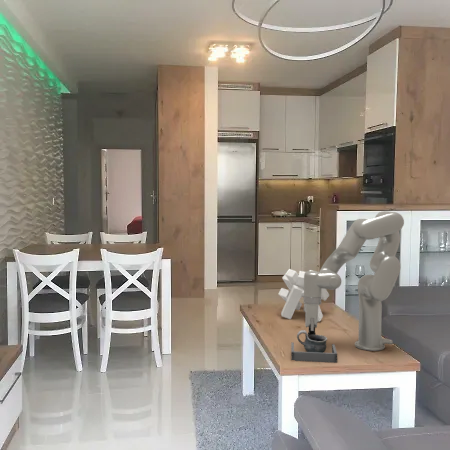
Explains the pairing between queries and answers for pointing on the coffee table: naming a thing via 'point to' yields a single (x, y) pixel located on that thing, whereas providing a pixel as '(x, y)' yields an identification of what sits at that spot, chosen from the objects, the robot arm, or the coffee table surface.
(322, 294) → the white crossed bars sculpture
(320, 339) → the mug
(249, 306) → the coffee table surface
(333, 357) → the frame
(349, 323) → the coffee table surface
